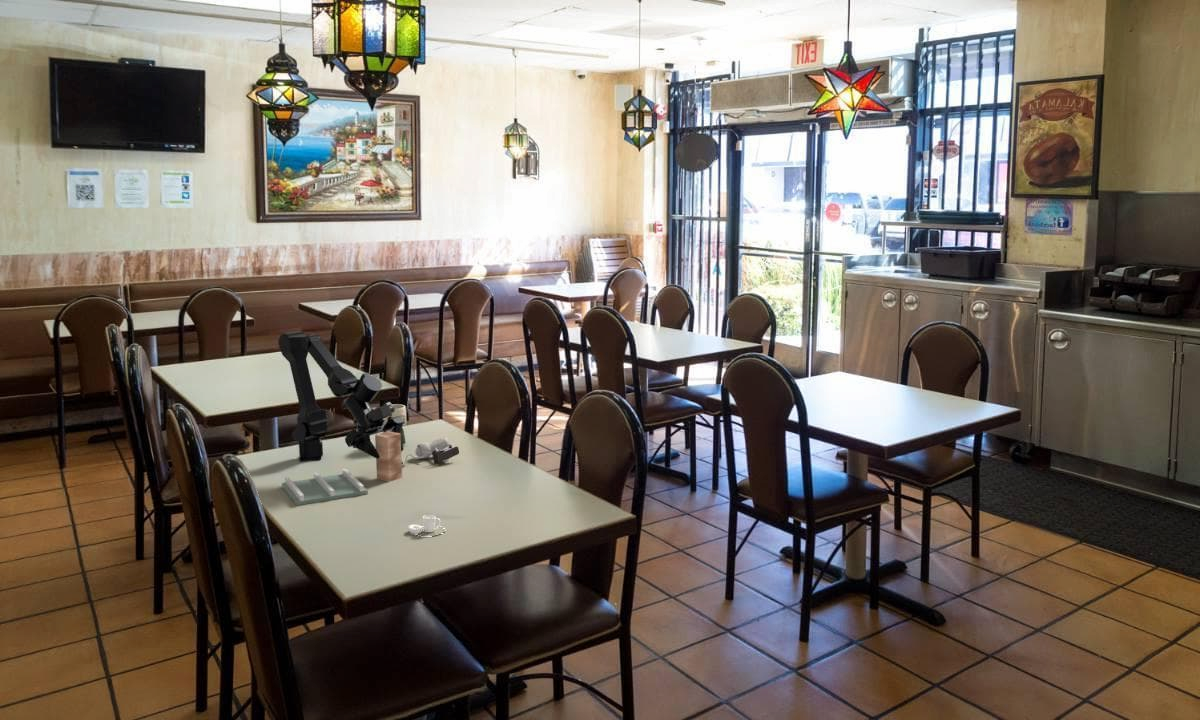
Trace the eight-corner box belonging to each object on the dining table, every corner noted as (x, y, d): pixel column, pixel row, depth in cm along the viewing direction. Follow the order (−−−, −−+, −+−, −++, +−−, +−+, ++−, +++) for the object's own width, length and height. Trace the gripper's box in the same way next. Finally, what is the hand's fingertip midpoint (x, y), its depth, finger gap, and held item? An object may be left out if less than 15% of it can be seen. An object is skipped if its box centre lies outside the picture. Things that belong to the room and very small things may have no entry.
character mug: (376, 445, 307) (374, 406, 305) (393, 440, 312) (392, 402, 310) (397, 451, 300) (396, 411, 298) (415, 446, 306) (414, 407, 303)
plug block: (389, 481, 270) (387, 437, 267) (377, 478, 272) (375, 434, 270) (402, 477, 274) (400, 433, 271) (389, 474, 277) (388, 431, 274)
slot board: (281, 486, 265) (281, 478, 265) (349, 476, 274) (349, 468, 274) (296, 505, 250) (296, 496, 249) (367, 493, 259) (367, 485, 259)
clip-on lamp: (405, 479, 281) (461, 458, 289) (401, 460, 279) (457, 440, 287) (393, 466, 291) (447, 445, 299) (388, 447, 289) (443, 427, 296)
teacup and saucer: (403, 535, 230) (403, 519, 229) (421, 525, 237) (420, 509, 236) (435, 540, 227) (434, 524, 226) (451, 529, 234) (451, 513, 233)
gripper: (349, 401, 264) (379, 445, 260) (398, 389, 279) (427, 430, 275) (332, 424, 269) (361, 468, 265) (381, 411, 285) (409, 452, 281)
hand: (390, 454), depth 271 cm, fingers open, 9 cm apart
